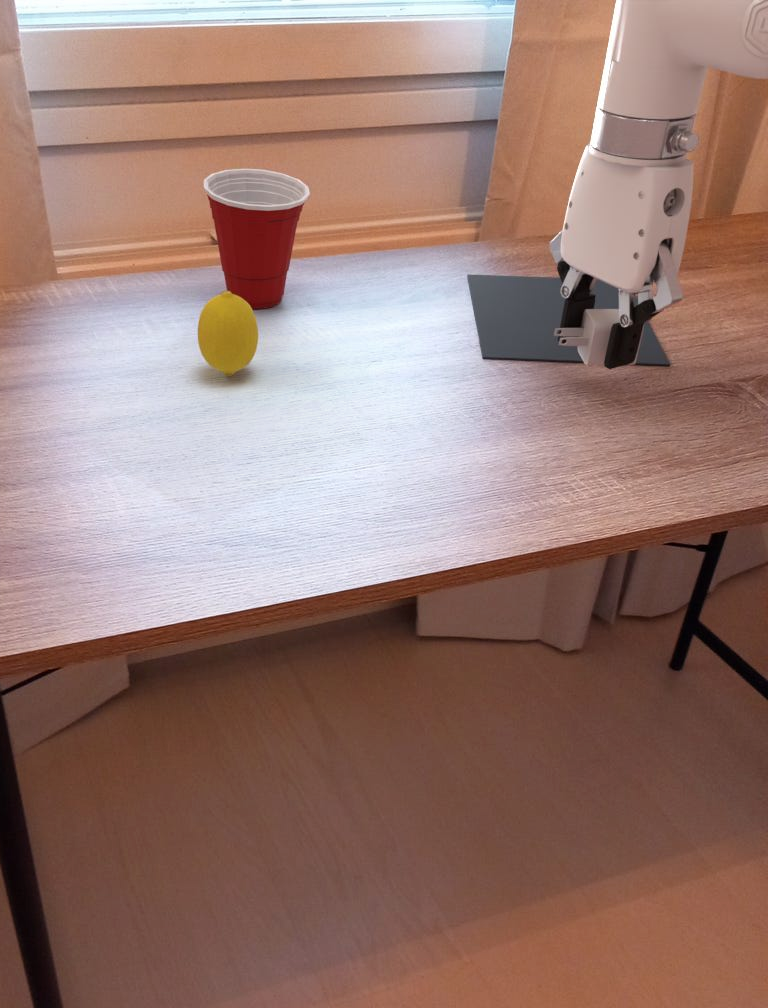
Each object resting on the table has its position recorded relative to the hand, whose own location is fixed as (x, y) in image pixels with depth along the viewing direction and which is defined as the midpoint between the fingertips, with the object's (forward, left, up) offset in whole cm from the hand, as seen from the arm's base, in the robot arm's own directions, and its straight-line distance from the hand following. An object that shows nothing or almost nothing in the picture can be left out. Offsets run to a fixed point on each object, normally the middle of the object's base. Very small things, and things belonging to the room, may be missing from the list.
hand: (595, 350), depth 92 cm
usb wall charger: (0, 0, -1) cm, 1 cm away
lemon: (+18, +28, -4) cm, 34 cm away
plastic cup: (+33, +17, -4) cm, 37 cm away
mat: (+14, -9, -4) cm, 17 cm away
